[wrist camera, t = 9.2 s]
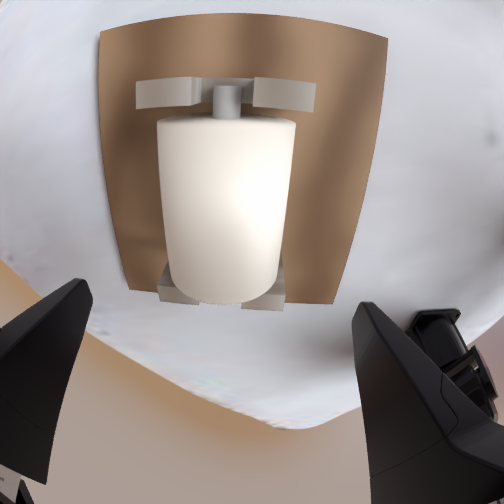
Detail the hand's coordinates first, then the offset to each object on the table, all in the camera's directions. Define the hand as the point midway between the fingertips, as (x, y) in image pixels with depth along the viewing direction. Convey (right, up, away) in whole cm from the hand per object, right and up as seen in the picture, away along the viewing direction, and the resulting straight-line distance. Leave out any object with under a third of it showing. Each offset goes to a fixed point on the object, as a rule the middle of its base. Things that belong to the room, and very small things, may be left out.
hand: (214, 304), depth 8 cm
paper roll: (0, +4, +5) cm, 6 cm away
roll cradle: (0, +7, +9) cm, 11 cm away
